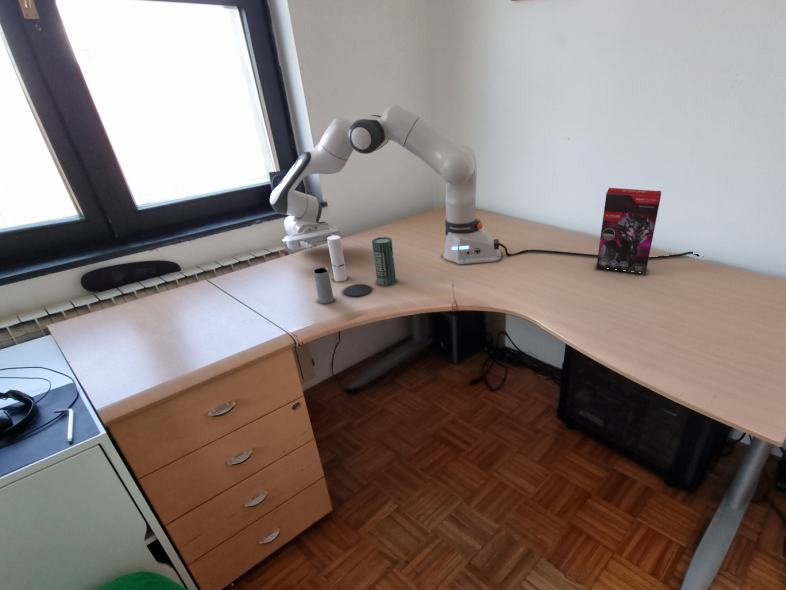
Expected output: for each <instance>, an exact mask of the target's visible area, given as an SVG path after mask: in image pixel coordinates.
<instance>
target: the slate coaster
mask: <svg viewBox="0 0 786 590" xmlns="http://www.w3.org/2000/svg"><path fill="white" fill-rule="evenodd" d="M371 292H372V287H371V286H370V285H368V284H361V283H360V284H352V285H350V286H347V287H346V288H344V289H343V295H345V296H347V297H351V298H357V297H364V296H366V295H368V294H370V293H371Z"/></svg>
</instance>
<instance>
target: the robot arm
mask: <svg viewBox="0 0 786 590" xmlns="http://www.w3.org/2000/svg"><path fill="white" fill-rule="evenodd" d="M389 141H393V142H395V143H397V144H398V145H400V146H401V147H402V148H404V149H405V150H407V151H409V153H411V154H413V155H415V156H416V157H418V158H419V159H420V160H422V161H423V162H424V163H426V165H428V166H429V167H430V168H431V169H432V170H433V171H434V172H436V173H437V174H438V175H439V176H441V177H442V179H443V180H444V181H445V182H446V184H445V185H446V187H445V197H444V201H445V202H444V203H445V219H444V233H445V245H444V250H443V254H442V257H443V259H445V260H447V261H449V262H452V263H453V262H454V263H456V264H457V265H469V264H470V265H471V264H481V263H482V264H483V263H493V262H498V261H500V260H501V258H502V251H501V249H500V247H502V248H503V249H504V252H505V255H506V256H507V257H512V256H513V257H514V256H517V255H521V254H524V253H547V254H560V255H570V256H581V257H590V258H591V257H592V258H598V254H591V253H582V252H572V251H559V250H547V249H523V250H521V251H518V252H516V253H509V252H508V248H507V247H506V245H504V244H503V243H501V242H500V240H499V238H494V237H493V236H492V235H491V234H489V233H488V232H487V231H485V230H483V223H482V221H481V219H479V218H477V217H476V215H477V214H476V212H477V211H476V209H477V208H476V205H477V203H476V201H477V200H476V199H477V197H476V195H477V178H478V157H477V155H476V152H475V150H473V149H472V148H471V147H470V146H468V145H464V144H459V145H456V144H454V143H453V142H452V141H451V140H450V139H448V138H447V137H446V136H445V135H444V134H443V133H442V131H440V130H439V129H437V128H436V127H434V126H433V125H432V124H430V123H429V122H427V121H426V120H424V119H423V118H421V117H420V116H418V115H417V114H415V113H414V112H412V111H410V110H409V109H406V108H404V107H402V106H400V105H398V104H397V105H396V104H392V105H389V106H388V107H386V109H385V110H384V111H383V112H382V115H378V114H372V115H369V116H368V115H366V116H363V117H361V118H359V119H357V120H355V121H354V122H351V121H350V120H348V119H346V118H343V117H337V118H334V119H333V120H332V121H331V123H330V124H329V125H328V126H327V128H326V130H325V131H324V133H323V134H322V136H321V137H320V140H319V142H318V143H317V145H316V146H315V147H314V148H312V149H311V150H308V151H304V152H303V153H301V155H300V156H299V157H298V158H297V159H296V161H295V162H294V164H293V165H292V166H291V167H290V169H289V170H288V172H287V173H286V174H285V176H284V177H283V179H282V180H281V181H280V182H279V183H278V184H277V185H276V186H275V187H274V188H273V189H272V191H271V193H270V195H269V196H270V197H269V204H270V206H271V208H272V209H273V210H274V211H275V213H276V214H280V215H284V216H286V215H287V217H285V219H284V221H283V225H284V227H283V228H284V229H285V232H286V233H287V234H288V235H285V237H284V238H282V239H281V242H282V243H283V244H286V246H287V249H288V250H290V251H296V250H299V249H307V250H310V249H312V248H313V246H317V245H322V244H326V243H328V240H327V238H328V237H329V236H340V238H341V239H342V238H343V235H342V230H341V229H340V228H339V227H338V226H335V225H333V224H330V223H329V222H328V221H320V220H321V216H322V211H323V210H322V204H321V202H320V200H319V199H318V197H316V196H313V195H312V194H307V193H304V192H301V191H298V190H296V188H297V187H298V186H299V185H300V183H301V182H302V180H303V179H304V178H305V177H308V176H309V175H319V174H320V175H333V174H338V173H340V172H341V171H342V170H343V169H344V168H345V166H347V163H348V160H349V159H350V157H351V155H352V153H353V151H356V152H358V153H360V154H362V155H363V154H364V155H366V154H372V153H374V152H376V151H379V150H381V149H382V148H383V147H385V146H386V145H387V144H388V143H389ZM693 252H694V251H686V252H682V253H675V254H668V255H669V256H664V255H657V256H658V257H649V259H648V260H650V259H651V260H652V259H653V260H654V259H665V258H676V257H682V256H686V255H693V256H696V257H700V254H699V253H698V254H693Z"/></svg>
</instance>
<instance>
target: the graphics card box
mask: <svg viewBox="0 0 786 590" xmlns="http://www.w3.org/2000/svg"><path fill="white" fill-rule="evenodd" d="M661 196H662V190H651V189H650V190H649V189H634V188H619V187H608V189H607V191H606V193H605V200H604V208H603V215H602V221H601V224H602V225H601V231H600V238H599V245H598V254H597V255H598V257H597V261H596V269H597V270H602V271H603V270H604V271H613V272H622V273H628V274H638V275H646V273H647V268H648V265H649V260H650V259H649V256H650V254H651V249H652V243H653V239H654V235H655V228H656V224H657V223H656V222H657V218H658V214H659V207H660V202H661ZM607 268H609V269H607ZM615 269H617V270H615ZM623 270H626V271H623ZM631 271H634V272H631ZM639 272H641V273H639Z"/></svg>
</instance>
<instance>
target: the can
mask: <svg viewBox="0 0 786 590" xmlns="http://www.w3.org/2000/svg"><path fill="white" fill-rule="evenodd" d="M371 243H372V251H373V259H374V268H375V275H376V283H377V285H379V286H382V287H388V286H392V285H394V284H396V282H397V280H396V279H397V278H396V269H395V259H394V248H393V247H394V246H393V239H392V238H391V237H388V236H378V237H375V238H373V239H372V241H371Z"/></svg>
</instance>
